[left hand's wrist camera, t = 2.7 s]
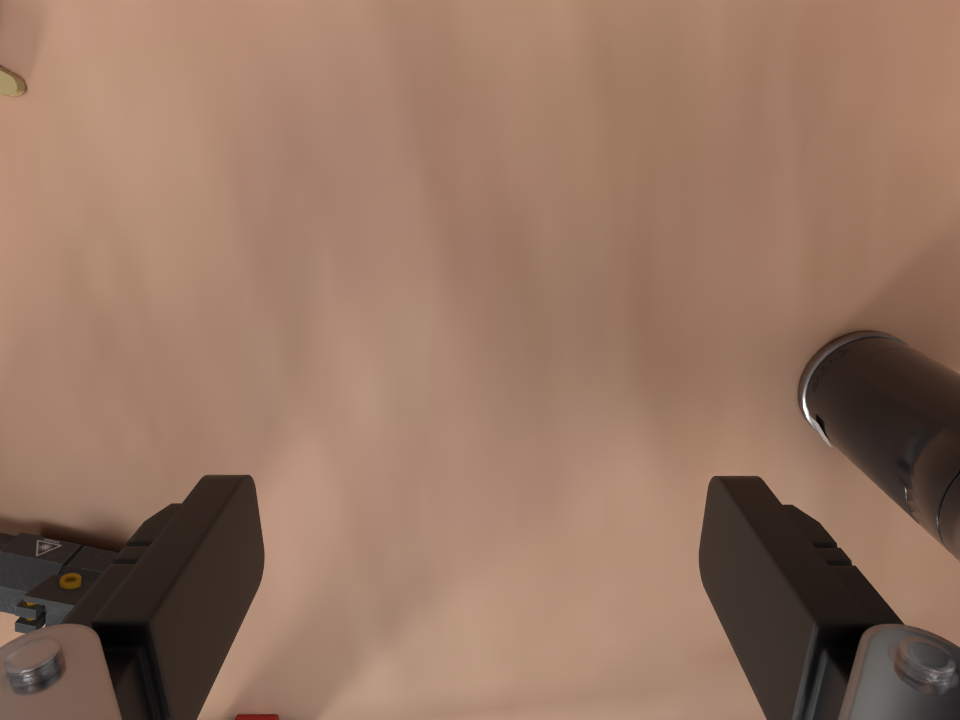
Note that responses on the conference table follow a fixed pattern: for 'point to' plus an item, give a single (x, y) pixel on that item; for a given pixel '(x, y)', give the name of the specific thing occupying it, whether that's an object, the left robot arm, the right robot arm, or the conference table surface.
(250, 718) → the block
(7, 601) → the laser sight
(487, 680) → the conference table surface
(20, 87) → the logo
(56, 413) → the conference table surface
